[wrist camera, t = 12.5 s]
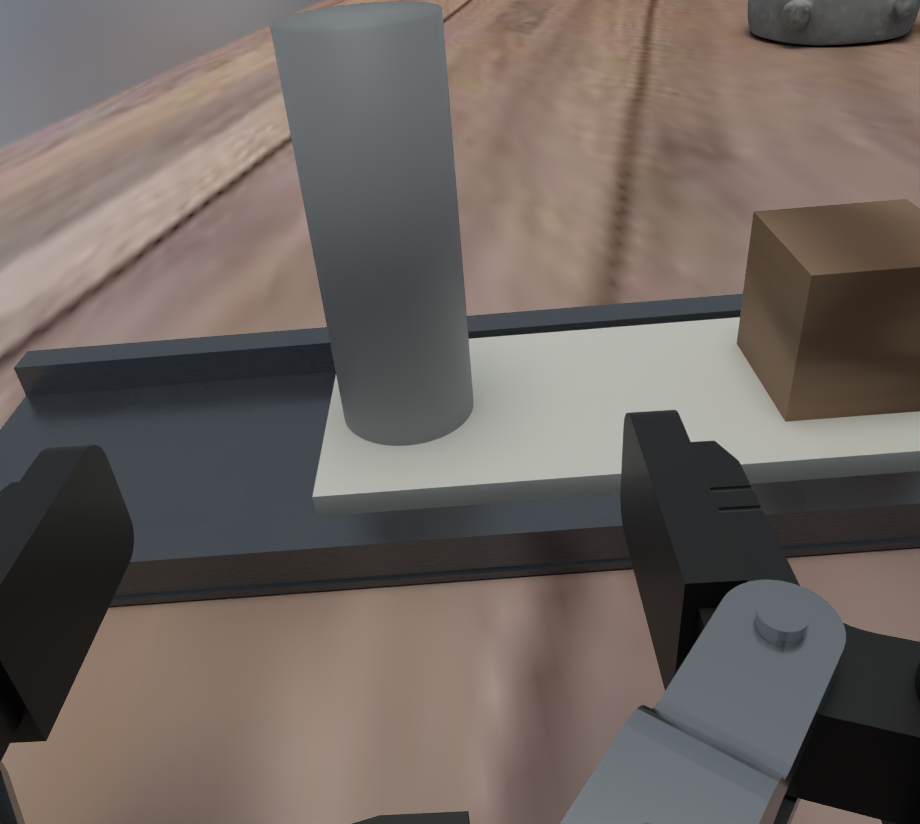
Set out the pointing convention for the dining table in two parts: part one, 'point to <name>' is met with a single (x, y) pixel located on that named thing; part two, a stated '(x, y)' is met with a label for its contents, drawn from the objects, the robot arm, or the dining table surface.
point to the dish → (831, 20)
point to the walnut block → (835, 309)
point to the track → (297, 458)
